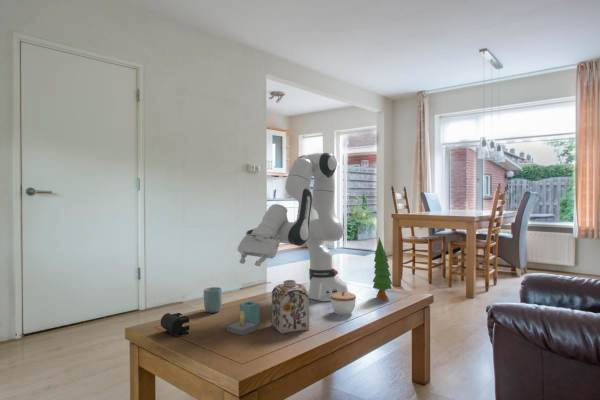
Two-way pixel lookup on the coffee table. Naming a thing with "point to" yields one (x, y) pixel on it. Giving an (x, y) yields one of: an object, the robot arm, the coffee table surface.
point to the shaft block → (242, 326)
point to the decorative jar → (290, 307)
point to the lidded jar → (343, 303)
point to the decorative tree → (381, 272)
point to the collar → (250, 311)
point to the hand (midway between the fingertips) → (249, 264)
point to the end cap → (175, 323)
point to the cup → (212, 299)
